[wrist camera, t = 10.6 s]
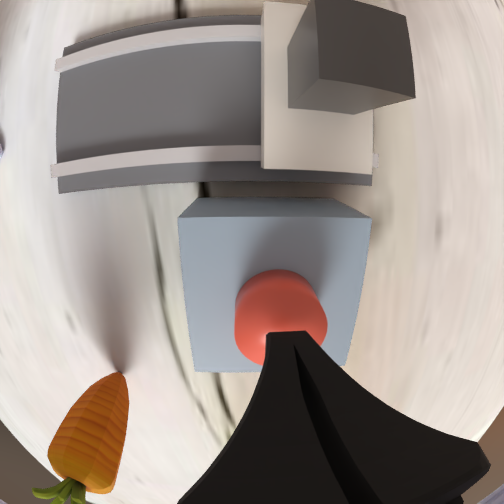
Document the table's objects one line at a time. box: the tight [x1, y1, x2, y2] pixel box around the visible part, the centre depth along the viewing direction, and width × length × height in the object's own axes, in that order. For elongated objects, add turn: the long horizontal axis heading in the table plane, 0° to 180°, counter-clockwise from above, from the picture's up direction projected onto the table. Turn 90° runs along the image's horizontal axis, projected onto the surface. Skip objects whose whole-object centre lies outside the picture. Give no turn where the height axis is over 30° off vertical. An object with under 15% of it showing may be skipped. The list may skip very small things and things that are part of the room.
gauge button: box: [234, 269, 328, 366], centre depth 11 cm, size 4×4×2 cm
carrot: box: [32, 372, 129, 504], centre depth 13 cm, size 5×5×15 cm
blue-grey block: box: [178, 197, 372, 372], centre depth 15 cm, size 8×8×5 cm
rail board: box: [51, 15, 379, 194], centre depth 13 cm, size 19×10×2 cm, turn 90°
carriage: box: [261, 0, 416, 175], centre depth 9 cm, size 5×8×7 cm, turn 0°
